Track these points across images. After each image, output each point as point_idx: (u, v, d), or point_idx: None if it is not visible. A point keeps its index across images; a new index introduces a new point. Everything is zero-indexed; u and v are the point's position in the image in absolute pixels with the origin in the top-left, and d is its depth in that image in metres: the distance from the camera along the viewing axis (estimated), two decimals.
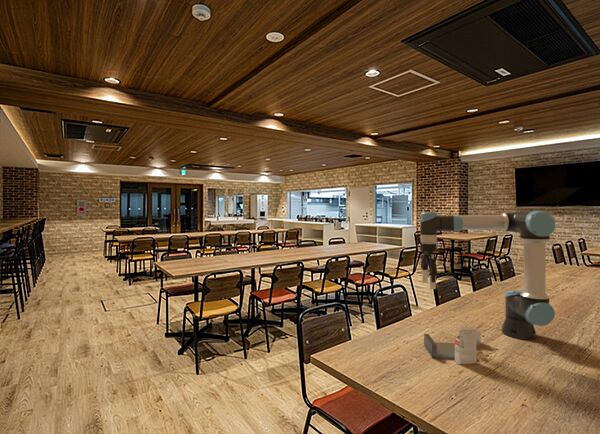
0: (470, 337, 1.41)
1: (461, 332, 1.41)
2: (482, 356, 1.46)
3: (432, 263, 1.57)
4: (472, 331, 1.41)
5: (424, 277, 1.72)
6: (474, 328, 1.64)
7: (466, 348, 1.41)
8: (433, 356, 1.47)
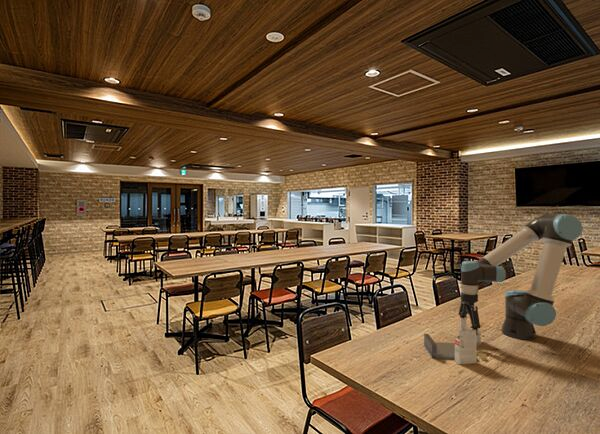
0: (470, 337, 1.41)
1: (461, 332, 1.41)
2: (482, 356, 1.46)
3: (474, 315, 1.55)
4: (472, 331, 1.41)
5: (462, 325, 1.70)
6: None
7: (466, 348, 1.41)
8: (433, 356, 1.47)
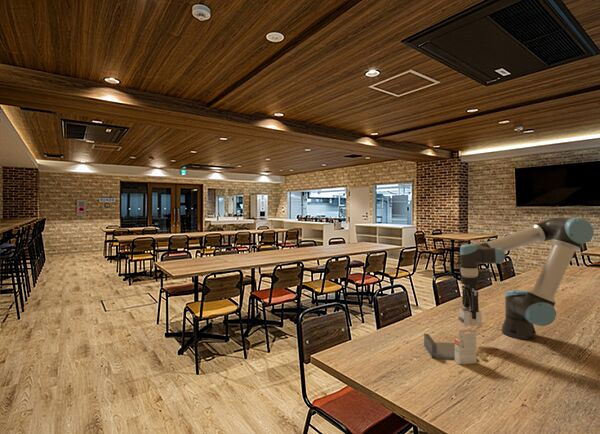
0: (470, 337, 1.41)
1: (461, 332, 1.41)
2: (482, 356, 1.46)
3: (474, 300, 1.57)
4: (472, 331, 1.41)
5: None
6: None
7: (466, 348, 1.41)
8: (433, 356, 1.47)
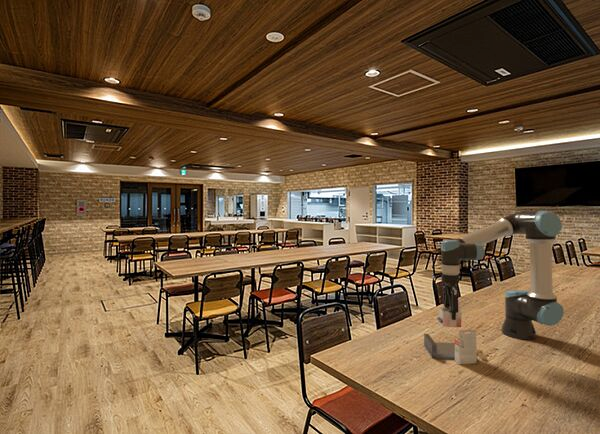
0: (470, 337, 1.41)
1: (461, 332, 1.41)
2: (482, 356, 1.46)
3: (454, 300, 1.46)
4: (472, 331, 1.41)
5: None
6: None
7: (466, 348, 1.41)
8: (433, 356, 1.47)
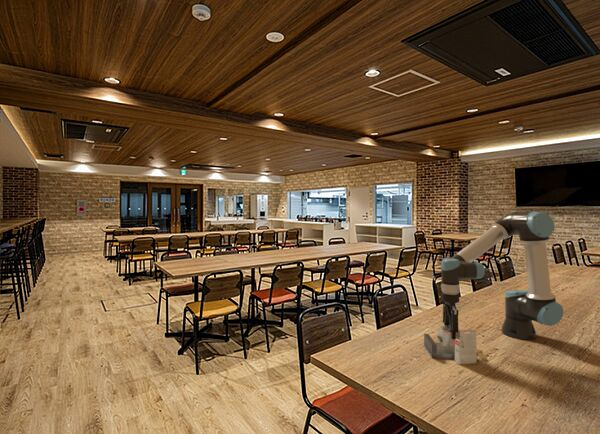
0: (470, 337, 1.41)
1: (461, 332, 1.41)
2: (482, 356, 1.46)
3: (454, 320, 1.46)
4: (472, 331, 1.41)
5: None
6: None
7: (466, 348, 1.41)
8: (433, 356, 1.47)
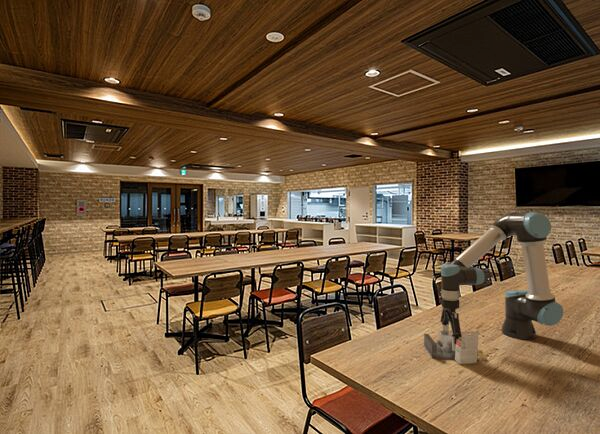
0: (472, 338, 1.40)
1: (463, 334, 1.39)
2: (482, 356, 1.46)
3: (455, 323, 1.45)
4: (474, 333, 1.39)
5: None
6: None
7: (467, 349, 1.40)
8: (433, 356, 1.47)
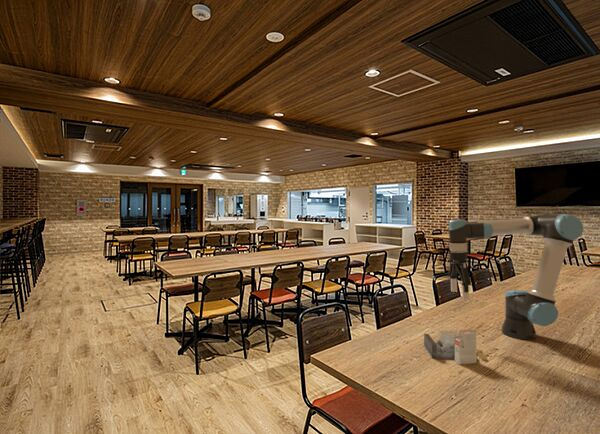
0: (470, 337, 1.41)
1: (461, 332, 1.41)
2: (482, 356, 1.46)
3: (465, 272, 1.53)
4: (472, 331, 1.41)
5: (453, 286, 1.68)
6: (455, 332, 1.54)
7: (466, 348, 1.41)
8: (433, 356, 1.47)
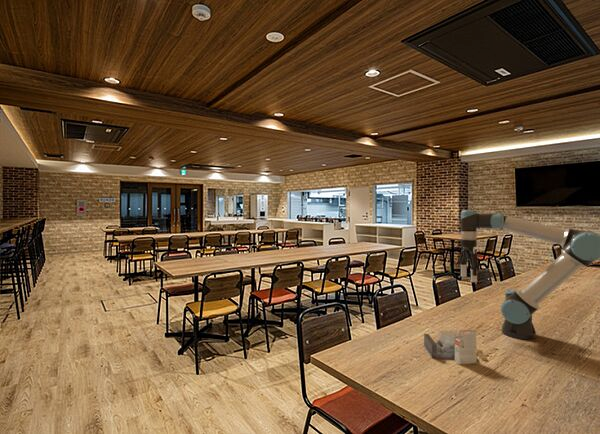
0: (470, 337, 1.41)
1: (461, 332, 1.41)
2: (482, 356, 1.46)
3: (474, 258, 1.68)
4: (472, 331, 1.41)
5: (463, 271, 1.83)
6: (455, 332, 1.54)
7: (466, 348, 1.41)
8: (433, 356, 1.47)
